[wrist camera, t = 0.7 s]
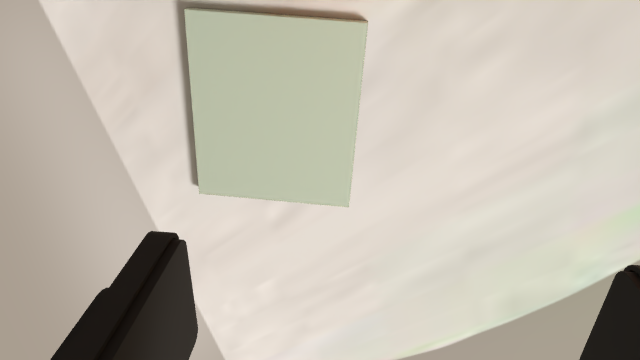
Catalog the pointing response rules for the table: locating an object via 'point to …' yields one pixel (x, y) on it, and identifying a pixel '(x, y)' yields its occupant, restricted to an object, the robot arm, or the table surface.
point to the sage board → (275, 104)
